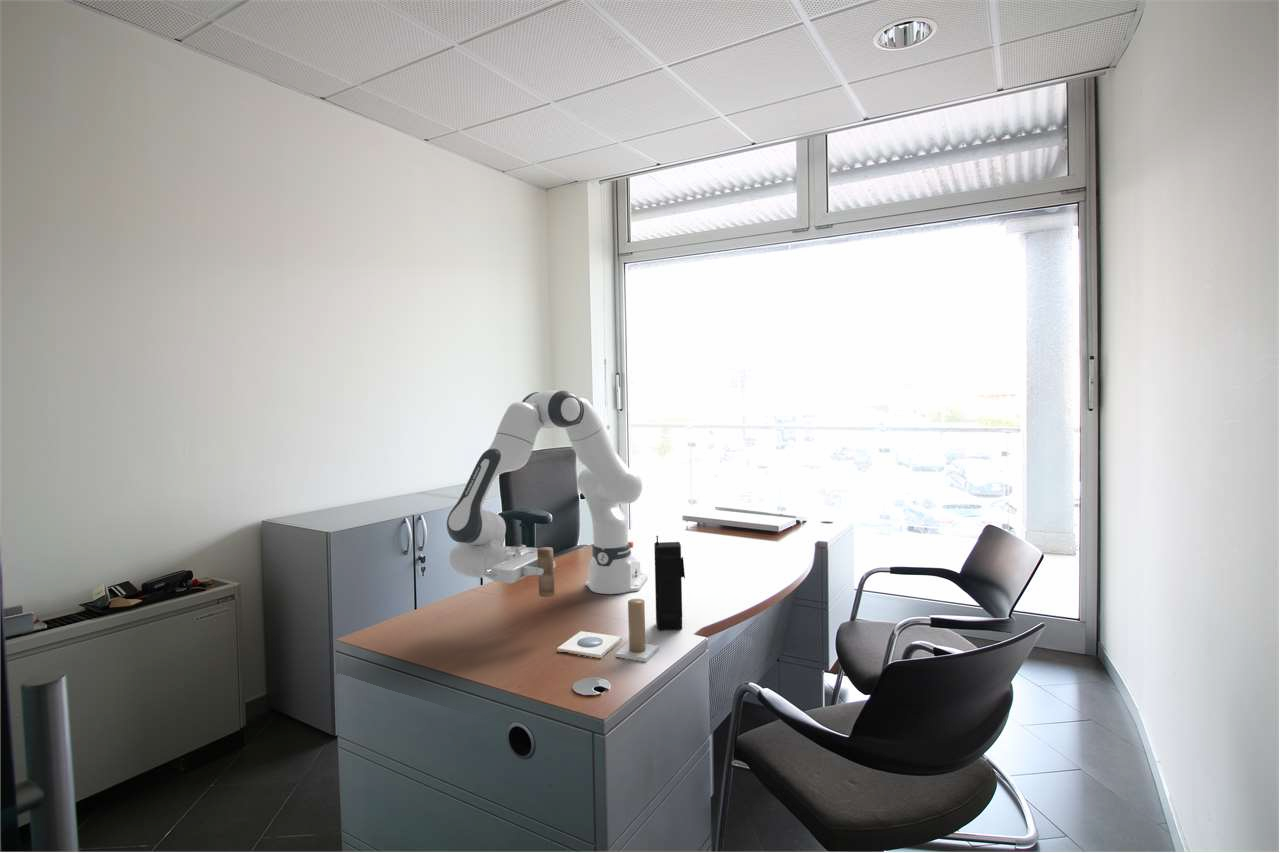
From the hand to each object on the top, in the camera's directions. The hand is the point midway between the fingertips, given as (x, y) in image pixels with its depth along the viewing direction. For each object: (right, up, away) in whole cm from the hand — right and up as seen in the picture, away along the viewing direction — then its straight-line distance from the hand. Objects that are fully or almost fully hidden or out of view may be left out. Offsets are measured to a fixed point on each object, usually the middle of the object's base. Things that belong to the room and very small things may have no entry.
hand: (548, 568), depth 176 cm
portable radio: (+32, -17, +8) cm, 37 cm away
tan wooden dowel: (+23, -19, -10) cm, 31 cm away
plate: (+11, -19, -5) cm, 22 cm away
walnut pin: (-1, -7, +1) cm, 7 cm away
